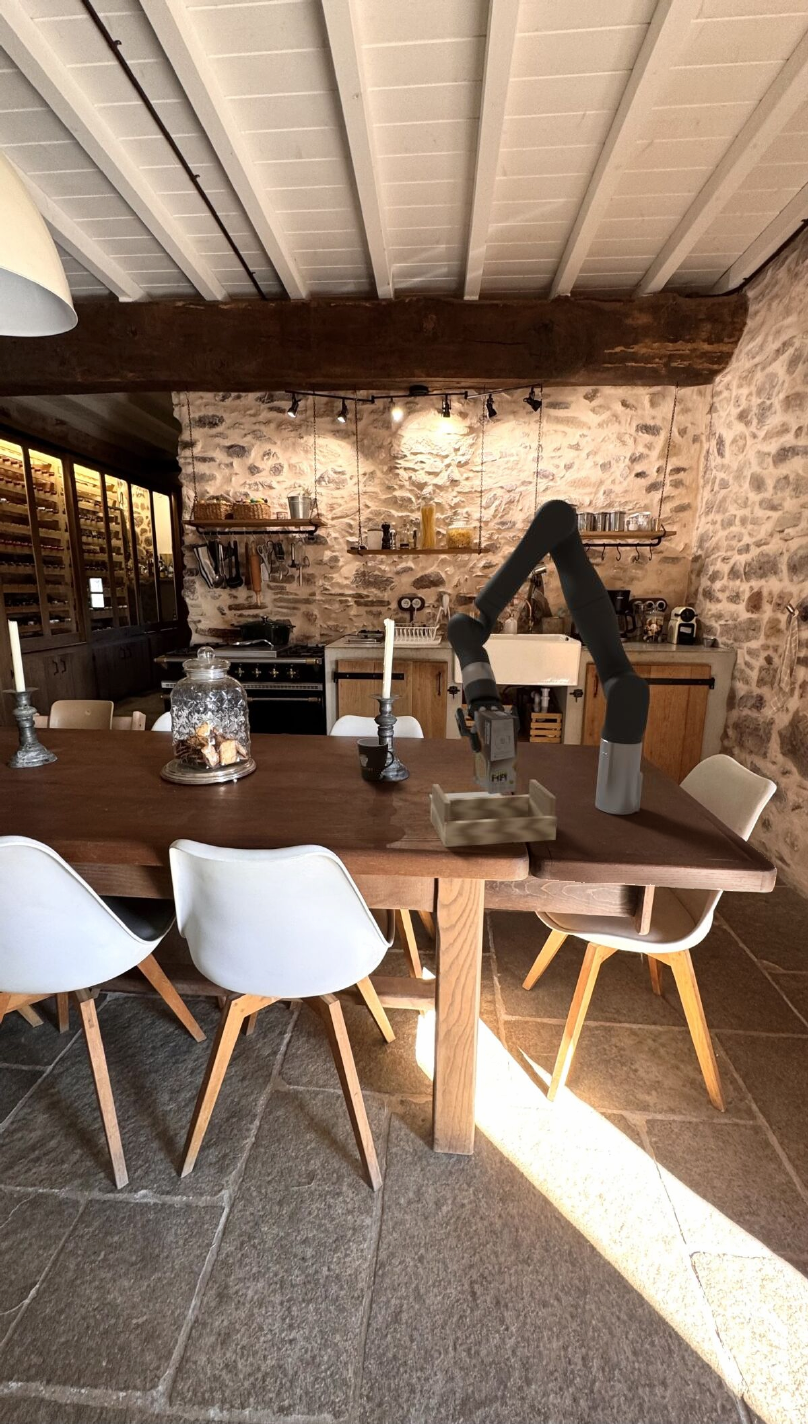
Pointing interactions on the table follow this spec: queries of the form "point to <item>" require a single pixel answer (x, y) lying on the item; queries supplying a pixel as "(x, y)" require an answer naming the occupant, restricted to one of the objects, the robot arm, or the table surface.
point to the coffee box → (496, 751)
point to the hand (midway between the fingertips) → (494, 750)
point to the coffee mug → (373, 758)
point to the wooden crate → (494, 817)
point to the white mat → (469, 795)
